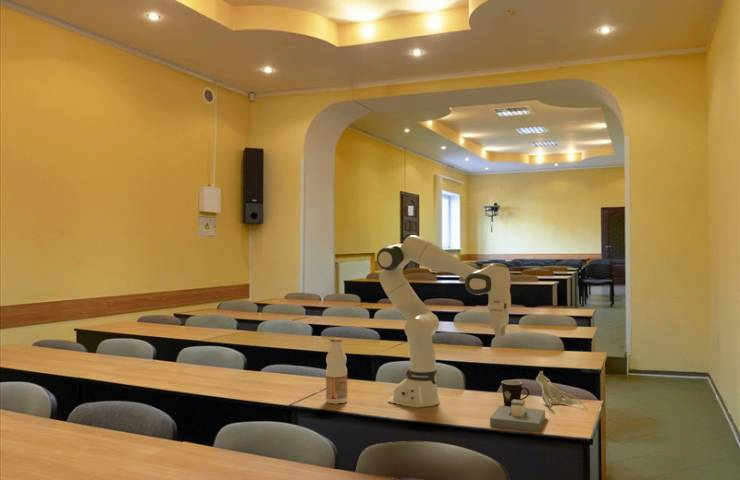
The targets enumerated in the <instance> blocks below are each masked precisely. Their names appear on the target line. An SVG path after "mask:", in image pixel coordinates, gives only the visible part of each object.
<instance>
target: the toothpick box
mask: <svg viewBox="0 0 740 480" xmlns="http://www.w3.org/2000/svg"><path fill="white" fill-rule="evenodd" d="M525 402H526V401H525V399H523V400H515V399H513V400H512V402H511V416H519V417H525V408H526V404H525Z"/></svg>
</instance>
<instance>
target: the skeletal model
mask: <svg viewBox="0 0 740 480" xmlns="http://www.w3.org/2000/svg"><path fill="white" fill-rule="evenodd" d="M535 380H536V382H537V383H538V384H539V385H540V386H541V394H542V396H541V399H542V401H543V402H544V403H545V404H547V406H548V407H549V409H550V410H551V411H552V412H553V414H555V413H556V412H555V410H554V409H553V408H551V407H553V404H556V405H568V406H569V405H570V406H573V405H580V406H581V405H582V406H583V407H584V408H585V410H586V411H588V408H587V407H586V405H585V404H584V403H583V402H582V400H580V399H578V398H577V397H576V396H574V395H573V394H570V393H567V392H564V391H563V390H559V389H558V388H556V387H555V386H554V385H553V384H552V382H551V381H550V379H549V378H548V377H547V376H545V375H544V370H540V371H539V373H538V375H537V376H536V378H535ZM567 395H569V396H570V397H572V398H573V399H571V398H570V397H569V396H567ZM562 397H564V399H563V398H562ZM574 399H575V400H574ZM576 400H577V401H576Z"/></svg>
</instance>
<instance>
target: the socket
mask: <svg viewBox="0 0 740 480" xmlns="http://www.w3.org/2000/svg"><path fill="white" fill-rule="evenodd" d="M545 419H546V409H535V408H526V407H525V417H519V416H511V407H508V406H504V405H498V407H497V408H496V409H495V411H494V412H493V413H492V415H491V416H490V417H489V426H490V427H495V428H497V427H498V428H504V429H514V430H520V431H521V430H523V431H529V432H538V433H539V432H540V430H541V428H542V426H543V424H544V422H545Z"/></svg>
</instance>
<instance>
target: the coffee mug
mask: <svg viewBox="0 0 740 480" xmlns="http://www.w3.org/2000/svg"><path fill="white" fill-rule="evenodd" d="M500 383H501V390H502V397H503V404H504V405H503V406H508V407H511V402H512V400H513V399H515V400H525V399H527V398H528V397H529V395H530V391H529V389H528V388H527V387H524V386H523V382H522V381H520V380H514V379H506V380H505V379H504V380H502V381H501V382H500ZM522 386H523V387H522ZM523 390H526V392H527V394H526V396H524V397H523V398H522V391H523Z"/></svg>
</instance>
